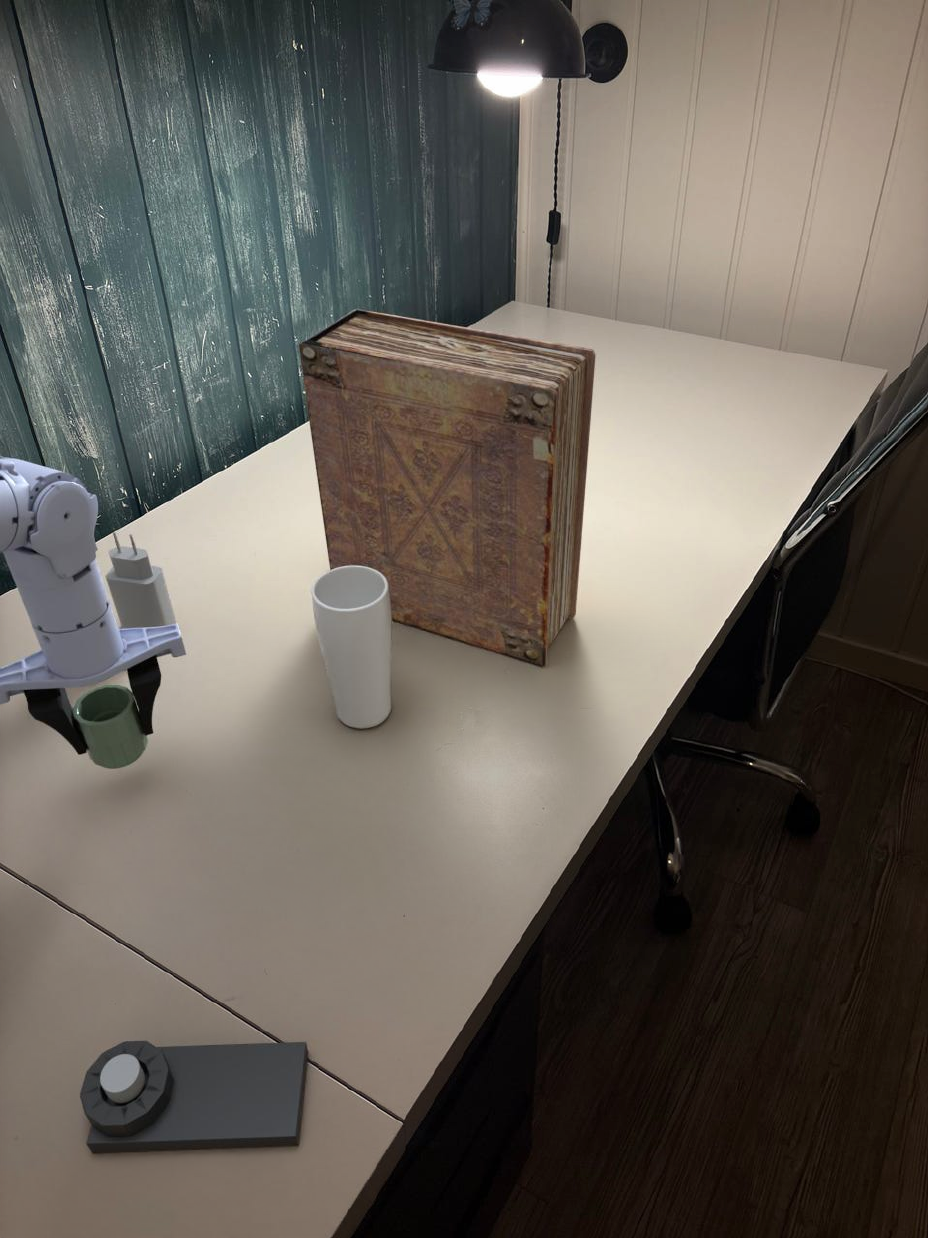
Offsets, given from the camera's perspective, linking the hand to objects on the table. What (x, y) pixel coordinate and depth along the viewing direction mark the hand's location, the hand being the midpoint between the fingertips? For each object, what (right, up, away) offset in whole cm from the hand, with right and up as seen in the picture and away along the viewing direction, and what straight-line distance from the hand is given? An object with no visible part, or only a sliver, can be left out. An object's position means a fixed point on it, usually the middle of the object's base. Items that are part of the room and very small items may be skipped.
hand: (115, 736), depth 78 cm
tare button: (+8, -20, -19) cm, 29 cm away
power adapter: (-4, +9, +22) cm, 24 cm away
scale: (+12, -22, -17) cm, 31 cm away
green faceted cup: (0, -1, +1) cm, 2 cm away
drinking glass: (+20, +1, +11) cm, 23 cm away
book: (+28, +11, +23) cm, 38 cm away
